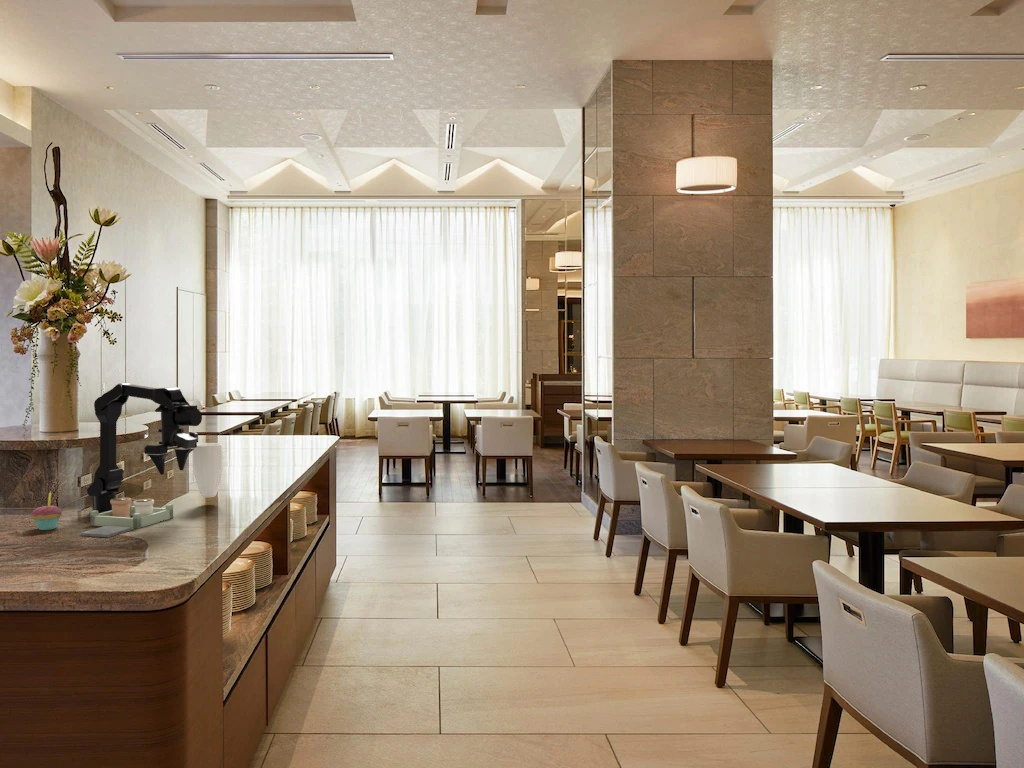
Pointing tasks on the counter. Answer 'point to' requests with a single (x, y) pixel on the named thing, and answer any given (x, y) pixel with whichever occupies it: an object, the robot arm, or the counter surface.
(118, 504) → the terracotta pot
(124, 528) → the slate tile
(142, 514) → the pot
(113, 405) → the robot arm
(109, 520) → the cold frame
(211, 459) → the cup
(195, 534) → the counter surface
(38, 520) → the cupcake
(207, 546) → the counter surface
